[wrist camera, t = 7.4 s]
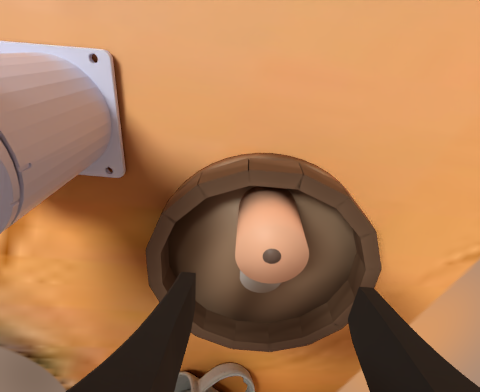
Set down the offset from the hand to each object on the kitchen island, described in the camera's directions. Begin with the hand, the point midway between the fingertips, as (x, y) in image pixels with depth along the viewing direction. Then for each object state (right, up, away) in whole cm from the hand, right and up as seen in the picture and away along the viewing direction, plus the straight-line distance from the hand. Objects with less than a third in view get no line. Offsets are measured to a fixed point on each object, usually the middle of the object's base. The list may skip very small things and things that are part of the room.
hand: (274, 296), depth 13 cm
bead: (0, +3, +7) cm, 8 cm away
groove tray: (0, 0, +10) cm, 10 cm away
